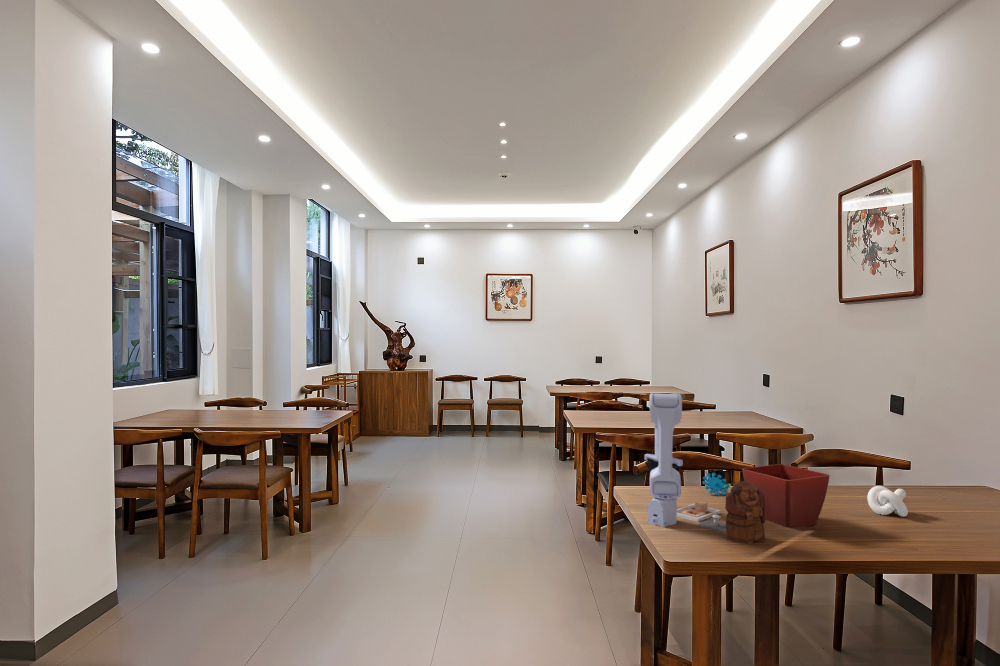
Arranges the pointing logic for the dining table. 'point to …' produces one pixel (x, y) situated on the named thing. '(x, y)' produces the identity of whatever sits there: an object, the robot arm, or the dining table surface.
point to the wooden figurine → (745, 514)
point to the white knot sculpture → (887, 501)
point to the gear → (715, 484)
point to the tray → (714, 512)
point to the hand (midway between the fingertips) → (663, 482)
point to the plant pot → (789, 493)
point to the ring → (697, 510)
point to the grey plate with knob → (714, 524)
